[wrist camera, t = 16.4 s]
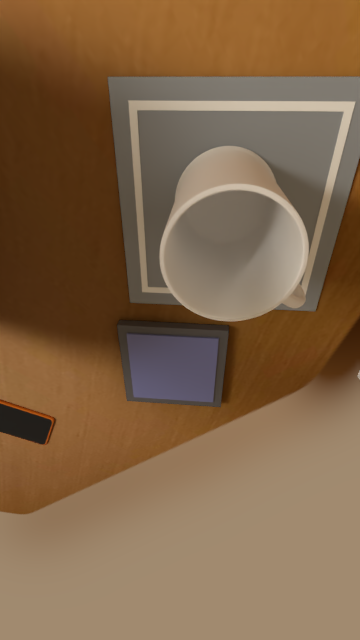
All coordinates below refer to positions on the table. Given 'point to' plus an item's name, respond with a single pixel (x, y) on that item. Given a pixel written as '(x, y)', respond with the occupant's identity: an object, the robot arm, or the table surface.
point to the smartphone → (25, 423)
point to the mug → (233, 239)
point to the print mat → (233, 130)
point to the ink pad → (173, 362)
